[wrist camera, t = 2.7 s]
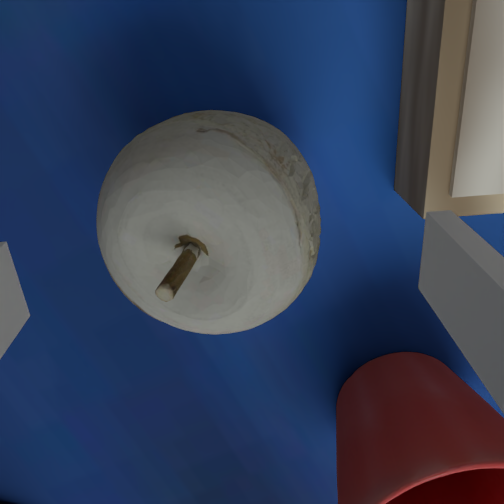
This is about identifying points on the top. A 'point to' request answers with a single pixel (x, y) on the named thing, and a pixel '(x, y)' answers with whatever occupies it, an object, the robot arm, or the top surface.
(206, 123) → the decorative object
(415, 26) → the plinth
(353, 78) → the top surface
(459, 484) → the flower pot
